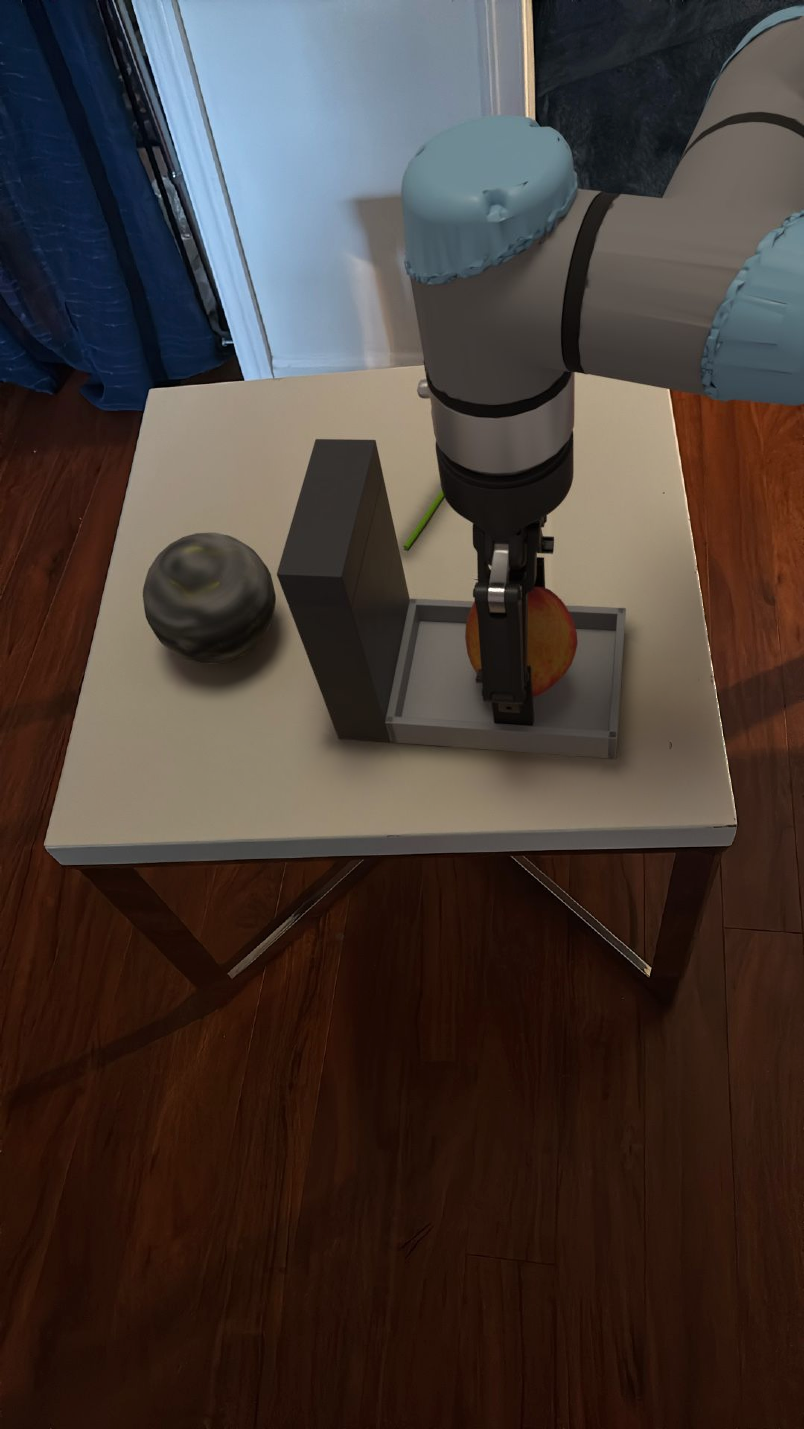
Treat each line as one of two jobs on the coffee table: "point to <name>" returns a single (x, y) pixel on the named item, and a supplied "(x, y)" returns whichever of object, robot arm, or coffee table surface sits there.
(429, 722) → the tray with tall back
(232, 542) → the decorative stone
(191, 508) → the coffee table surface
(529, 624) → the fruit
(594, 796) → the coffee table surface
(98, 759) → the coffee table surface
